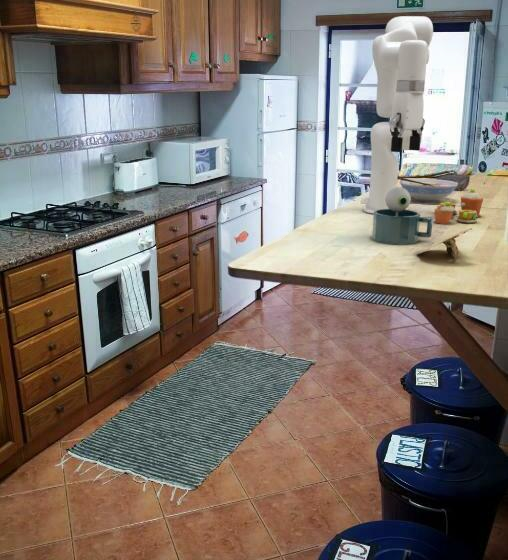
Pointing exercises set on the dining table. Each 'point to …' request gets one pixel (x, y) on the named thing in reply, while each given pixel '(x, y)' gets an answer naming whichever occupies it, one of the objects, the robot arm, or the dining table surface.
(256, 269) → the dining table surface
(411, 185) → the ramen bowl
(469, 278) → the dining table surface
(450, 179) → the perforated stone tool
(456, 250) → the tan irregular piece
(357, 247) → the dining table surface
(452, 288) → the dining table surface
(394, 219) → the mug
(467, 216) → the toy tea set
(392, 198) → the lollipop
